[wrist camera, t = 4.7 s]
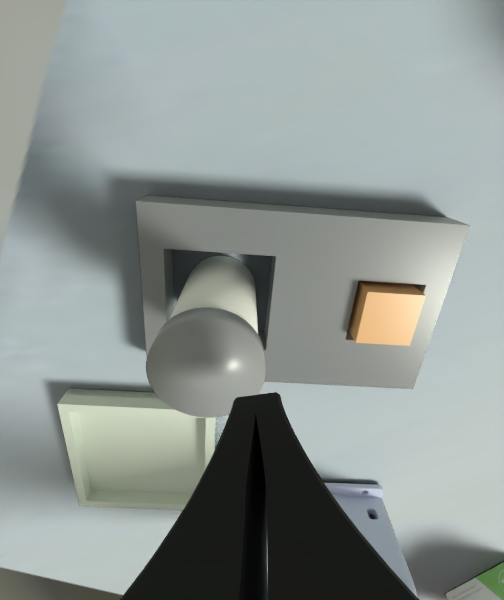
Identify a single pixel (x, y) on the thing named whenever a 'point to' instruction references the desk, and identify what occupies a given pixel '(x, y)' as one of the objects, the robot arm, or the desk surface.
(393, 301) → the button
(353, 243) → the housing
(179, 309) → the grey cylinder
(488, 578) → the ink box
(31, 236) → the desk surface
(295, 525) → the robot arm
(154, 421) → the tray
